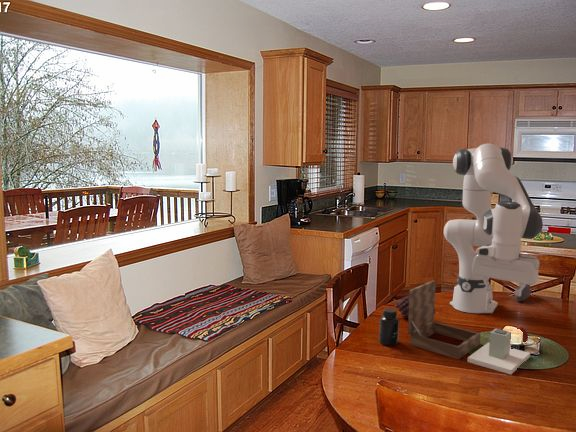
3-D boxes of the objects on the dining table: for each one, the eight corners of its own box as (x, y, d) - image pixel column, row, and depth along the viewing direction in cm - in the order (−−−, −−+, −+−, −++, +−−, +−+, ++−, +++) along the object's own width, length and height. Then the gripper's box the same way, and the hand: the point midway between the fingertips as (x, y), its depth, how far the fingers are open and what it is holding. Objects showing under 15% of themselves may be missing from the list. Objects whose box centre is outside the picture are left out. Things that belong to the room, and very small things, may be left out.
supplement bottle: (398, 346, 183) (399, 314, 181) (378, 345, 184) (379, 312, 183) (398, 339, 190) (399, 308, 188) (379, 338, 191) (380, 306, 189)
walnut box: (430, 330, 199) (433, 280, 196) (479, 343, 186) (483, 290, 183) (407, 344, 185) (409, 290, 183) (458, 359, 173) (461, 301, 170)
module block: (494, 350, 176) (495, 327, 175) (509, 355, 173) (511, 330, 172) (488, 355, 172) (490, 331, 171) (503, 359, 169) (505, 334, 168)
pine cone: (438, 320, 211) (439, 296, 209) (428, 326, 203) (429, 302, 202) (398, 311, 222) (399, 288, 220) (387, 317, 214) (388, 293, 212)
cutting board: (488, 346, 184) (488, 342, 184) (529, 357, 175) (530, 352, 174) (467, 361, 171) (467, 357, 170) (510, 374, 161) (511, 370, 161)
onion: (513, 342, 188) (515, 320, 187) (529, 346, 184) (531, 325, 183) (506, 346, 184) (508, 324, 183) (523, 351, 180) (525, 329, 179)
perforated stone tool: (522, 304, 232) (523, 289, 231) (510, 302, 235) (511, 287, 234) (532, 297, 243) (533, 282, 242) (520, 294, 246) (521, 280, 246)
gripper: (543, 254, 163) (539, 297, 165) (478, 245, 177) (476, 285, 179) (536, 258, 158) (533, 301, 160) (471, 248, 172) (469, 289, 174)
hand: (503, 292), depth 170 cm, fingers open, 8 cm apart
